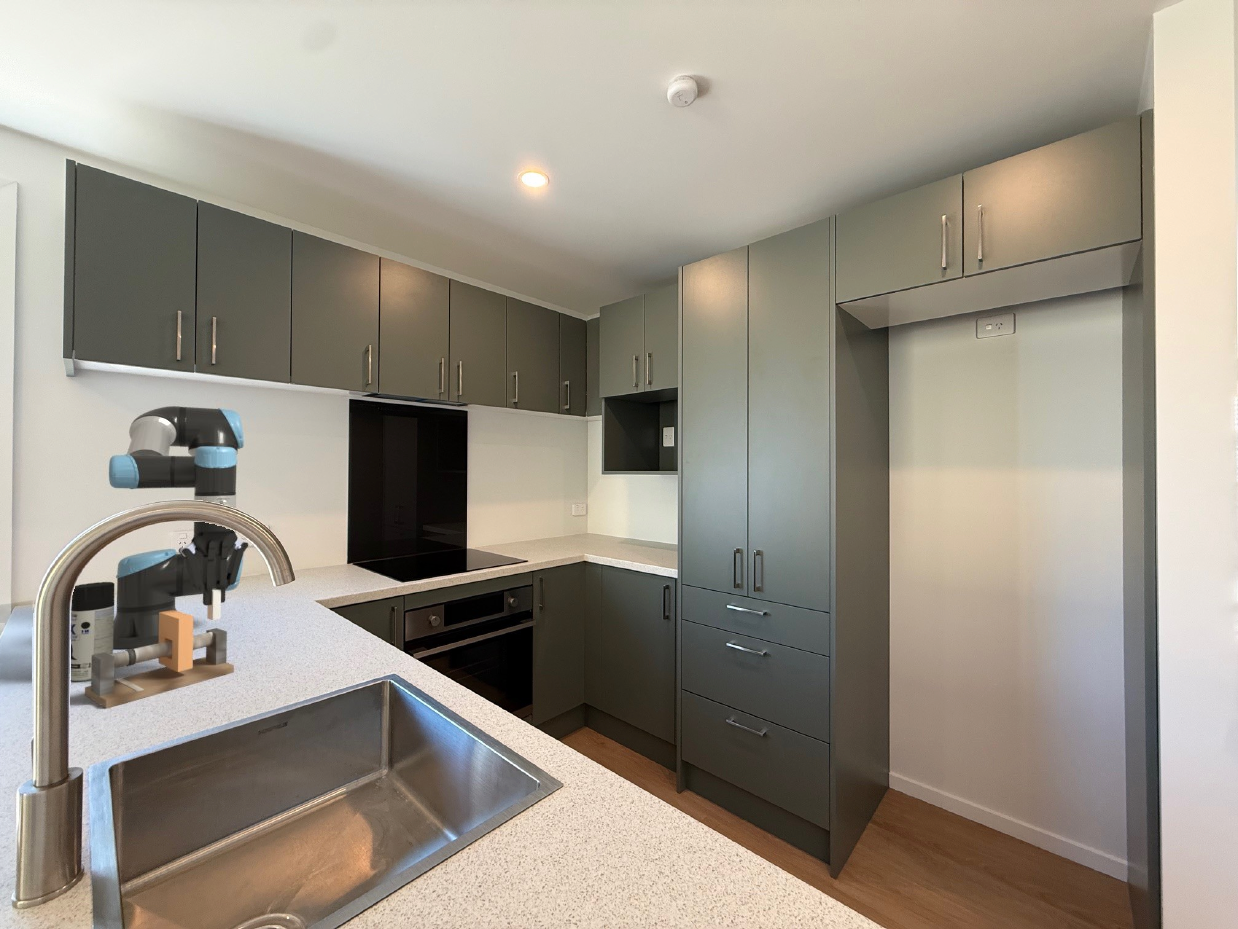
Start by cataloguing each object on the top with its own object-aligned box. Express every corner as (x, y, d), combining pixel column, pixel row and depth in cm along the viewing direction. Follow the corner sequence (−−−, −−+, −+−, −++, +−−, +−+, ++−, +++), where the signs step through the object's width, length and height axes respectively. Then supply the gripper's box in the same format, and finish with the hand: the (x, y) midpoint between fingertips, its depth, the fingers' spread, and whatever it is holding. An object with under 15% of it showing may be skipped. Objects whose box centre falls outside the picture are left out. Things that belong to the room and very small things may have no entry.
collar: (172, 659, 116) (173, 609, 116) (192, 668, 111) (193, 616, 111) (158, 663, 114) (159, 612, 114) (178, 672, 109) (178, 618, 109)
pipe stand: (209, 662, 123) (209, 625, 123) (233, 672, 117) (234, 633, 117) (84, 694, 105) (85, 651, 105) (106, 708, 98) (107, 662, 99)
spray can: (69, 676, 114) (70, 584, 114) (112, 668, 119) (113, 580, 119) (69, 685, 109) (71, 589, 110) (114, 676, 114) (116, 584, 115)
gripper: (187, 517, 111) (186, 628, 111) (255, 513, 123) (254, 614, 122) (172, 515, 115) (171, 623, 115) (239, 512, 126) (238, 610, 126)
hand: (213, 618), depth 118 cm, fingers closed
